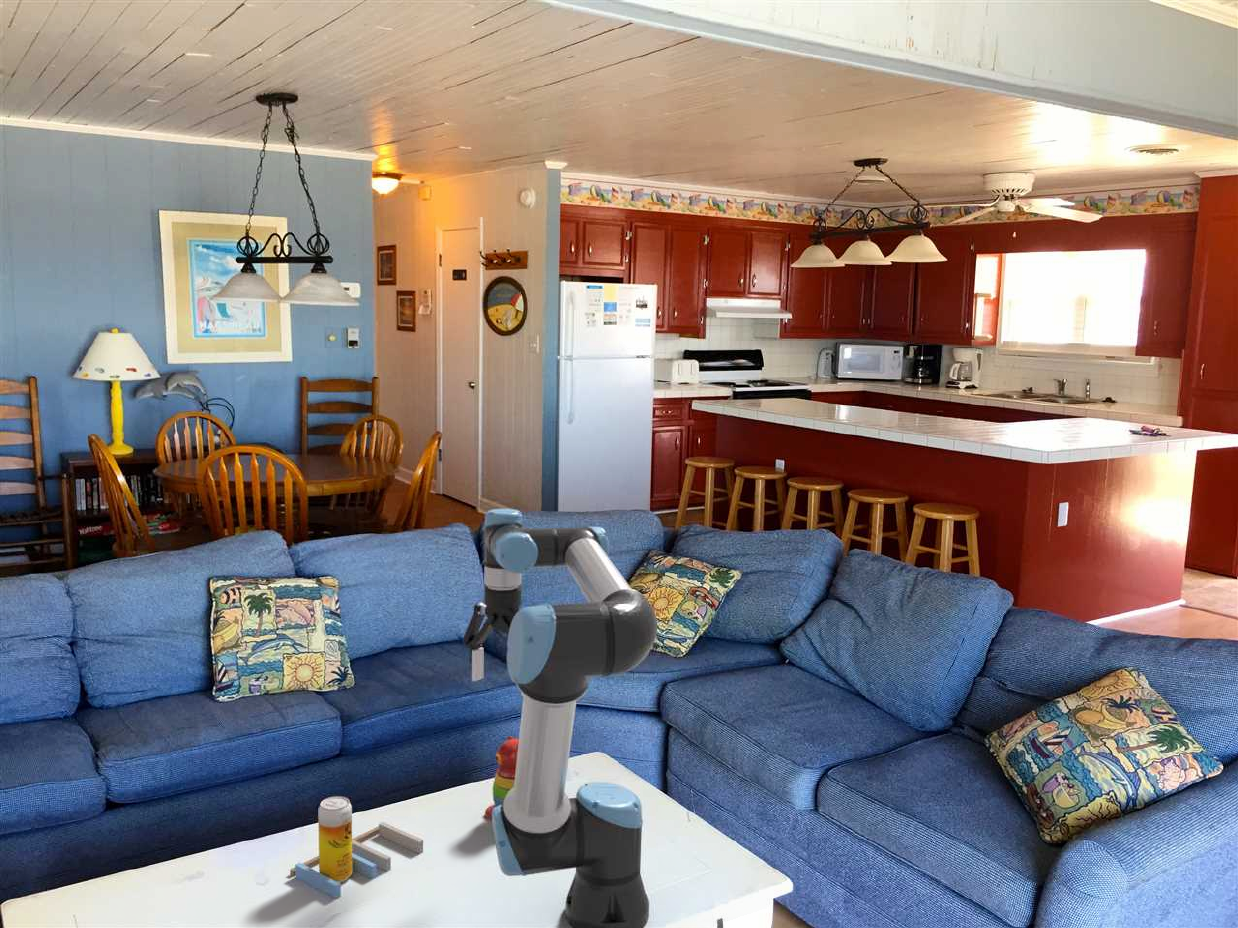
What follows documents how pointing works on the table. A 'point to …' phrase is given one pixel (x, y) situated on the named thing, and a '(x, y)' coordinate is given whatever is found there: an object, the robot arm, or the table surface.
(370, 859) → the rack
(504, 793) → the stacking bear
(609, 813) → the robot arm
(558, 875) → the table surface
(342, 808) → the beer can
